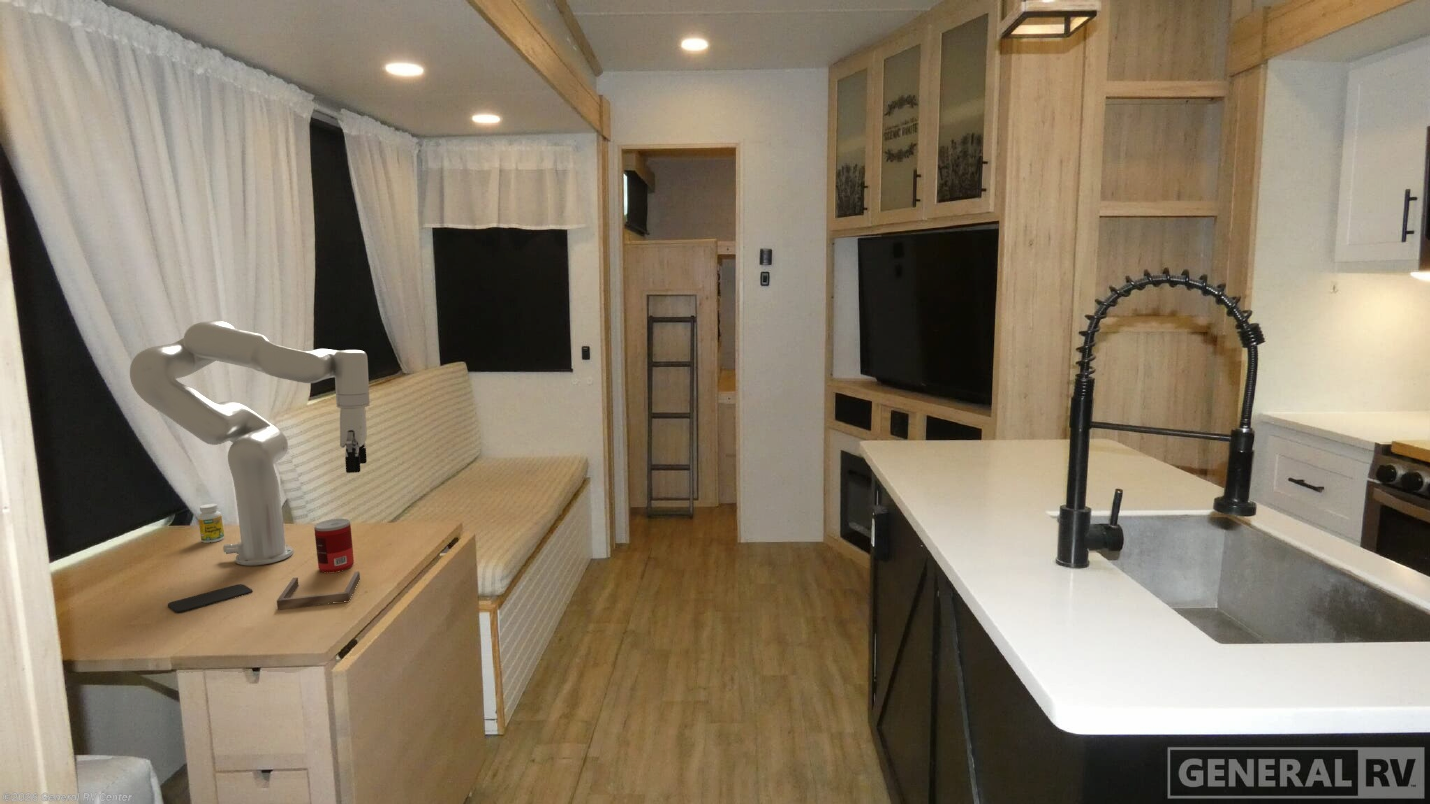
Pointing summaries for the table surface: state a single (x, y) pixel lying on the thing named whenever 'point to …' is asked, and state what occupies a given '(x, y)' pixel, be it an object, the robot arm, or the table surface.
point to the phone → (209, 598)
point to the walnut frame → (303, 601)
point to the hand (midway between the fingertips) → (356, 467)
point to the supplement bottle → (210, 523)
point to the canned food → (334, 545)
